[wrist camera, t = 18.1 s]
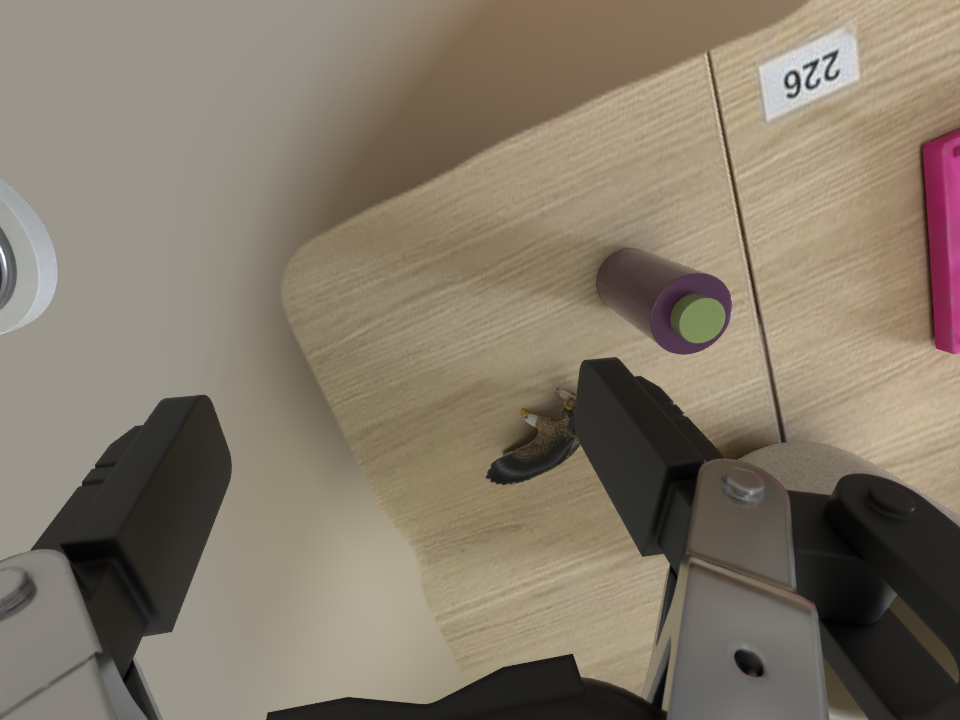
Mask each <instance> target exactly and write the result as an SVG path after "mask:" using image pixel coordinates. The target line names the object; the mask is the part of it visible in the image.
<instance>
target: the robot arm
mask: <svg viewBox="0 0 960 720" xmlns="http://www.w3.org/2000/svg"><path fill="white" fill-rule="evenodd" d="M16 280H17V267H16V260H15V257H14V253H13V250H12V247H11V245H10V243H9V241H8V239H7V237H6V235H5V233H4V232H3V230H2V229H1V227H0V310H1V309H2V308H3V307H4V306H5V305H6V304H7V303H8V301H9V300H10V298H11V296H12V294H13V292H14V289H15V286H16ZM574 425H575V431H576V435H577V438H578V440H579V443H580V444H581V446H582V448H583V450H584V452H585V453H586V455H587V457H588V459H589V461H590V462H591V464H592V466H593V468H594V470H595V472H596V473H597V475H598V477H599V479H600V481H601V482H602V484H603V486H604V488H605V490H606V491H607V493H608V495H609V497H610V499H611V501H612V502H613V504H614V506H615V508H616V510H617V511H618V513H619V515H620V517H621V519H622V521H623V522H624V524H625V526H626V528H627V530H628V531H629V533H630V535H631V537H632V539H633V540H634V542H635V544H636V546H637V548H638V550H639V551H640V553H641V555H642V557H645V556H651V555H657V554H663V553H664V555H665V556H666V558H667V560H668V561H669V563H670V565H669V568H668V571H667V574H666V580H665V585H664V590H663V596H662V601H661V606H660V612H659V617H658V622H657V627H656V633H655V638H654V643H653V649H652V654H651V659H650V663H649V668H648V672H647V676H646V679H645V683H644V687H643V691H642V696H641V697H640V696H638V695H636V694H634V693H632V692H630V691H628V690H626V689H624V688H621V687H618V686H616V685H613V684H610V683H608V682H604V681H600V680H595V679H591V678H584V677H580V674H579V671H578V668H577V665H576V662H575V659H574V656H573V654H569V655H564V656H559V657H554V658H548V659H543V660H538V661H533V662H528V663H522V664H517V665H512V666H507V667H503V668H501V669H499V670H497V671H495V672H493V673H491V674H489V675H487V676H485V677H483V678H481V679H479V680H477V681H475V682H473V683H471V684H469V685H468V686H466V687H464V688H462V689H460V690H458V691H456V692H454V693H452V694H450V695H448V696H446V697H444V698H442V699H440V700H438V701H436V702H433V703H430V704H414V703H404V702H394V701H383V700H373V699H363V698H352V697H346V698H341V699H336V700H331V701H325V702H321V703H315V704H310V705H305V706H300V707H294V708H289V709H284V710H279V711H274V712H268V713H267V719H266V720H829V711H828V702H827V693H826V684H825V675H824V666H823V657H822V655H823V656H824V658H825V659H826V661H827V662H828V663H829V665H830V666H831V668H832V669H833V670H834V672H835V673H836V675H837V676H838V677H839V679H840V680H841V682H842V683H843V684H844V686H845V687H846V689H847V690H848V691H849V693H850V694H851V696H852V697H853V698H854V700H855V701H856V703H857V704H858V705H859V707H860V708H861V710H862V711H863V712H864V714H865V715H866V717H867V718H868V719H869V720H960V527H959V526H958V525H957V524H956V523H954V522H953V521H952V520H951V519H949V518H948V517H947V516H946V515H945V514H943V513H942V512H941V511H940V510H938V509H937V508H936V507H935V506H933V505H932V504H931V503H930V502H929V501H927V500H926V499H925V498H923V497H922V496H921V495H919V494H918V493H916V492H914V491H913V490H911V489H909V488H907V487H905V486H904V485H901V484H899V483H897V482H895V481H892V480H889V479H886V478H883V477H880V476H876V475H871V474H862V473H854V474H848V475H845V476H843V477H842V478H840V479H839V481H838V483H837V485H836V486H835V488H834V490H833V492H832V494H831V495H827V494H818V493H810V492H801V491H793V490H786V489H785V488H784V487H783V485H782V484H781V483H780V482H779V481H778V480H777V479H776V478H775V477H773V476H772V475H771V474H769V473H768V472H766V471H765V470H763V469H761V468H759V467H757V466H755V465H752V464H750V463H747V462H744V461H740V460H735V459H726V458H725V457H724V456H723V455H722V454H721V453H720V452H719V451H718V450H717V449H716V448H715V447H714V445H713V444H712V443H711V442H710V441H709V440H708V439H707V438H706V437H705V436H704V435H703V433H702V432H701V431H700V430H699V429H698V428H697V427H696V426H695V425H694V424H693V423H692V421H691V420H690V419H689V418H688V417H685V416H684V413H683V412H682V411H681V410H680V408H679V407H678V406H677V405H674V404H673V401H672V400H671V399H670V398H669V396H668V395H667V394H666V393H665V392H664V391H663V390H662V389H661V388H660V387H659V386H657V385H655V384H653V383H652V382H650V381H648V380H646V379H645V378H643V377H641V376H636V377H634V376H633V375H632V373H631V372H630V371H629V370H628V369H627V368H626V366H625V365H624V364H623V363H622V362H621V361H620V360H619V359H618V358H616V357H612V358H601V359H591V360H584V361H583V362H582V364H581V366H580V371H579V379H578V388H577V396H576V404H575V412H574ZM231 471H232V464H231V456H230V452H229V449H228V446H227V443H226V440H225V437H224V435H223V432H222V429H221V426H220V423H219V420H218V417H217V415H216V412H215V409H214V406H213V403H212V402H211V400H210V398H209V397H208V396H206V395H196V396H186V397H175V398H165V399H163V400H161V401H160V402H159V403H158V405H157V406H156V408H155V409H154V411H153V412H152V414H151V415H150V416H149V418H148V419H147V421H146V422H145V423H144V425H141V426H135V427H133V428H132V429H131V430H130V431H128V432H127V433H125V434H124V435H123V436H121V437H120V438H119V439H117V440H116V441H115V442H113V443H112V444H111V445H110V446H109V447H108V448H107V450H106V451H105V453H104V454H103V455H102V456H101V458H100V459H99V460H98V462H97V463H96V464H95V469H92V470H91V471H90V472H89V474H88V475H87V476H86V478H85V479H84V480H83V481H82V486H80V487H78V488H77V489H76V491H75V492H74V493H73V495H72V496H71V497H70V499H69V500H68V501H67V503H66V504H65V505H64V507H63V508H62V509H61V511H60V512H59V513H58V515H57V516H56V517H55V518H54V520H53V521H52V522H51V524H50V525H49V526H48V528H47V529H46V530H45V532H44V533H43V534H42V536H41V537H40V538H39V539H38V541H37V542H36V544H35V545H34V546H33V547H32V549H31V550H30V551H27V552H24V553H20V554H17V555H14V556H11V557H8V558H6V559H4V560H1V561H0V720H163V719H162V717H161V714H160V712H159V709H158V707H157V705H156V702H155V700H154V698H153V696H152V693H151V691H150V689H149V687H148V684H147V682H146V679H145V677H144V675H143V673H142V670H141V668H140V666H139V664H138V662H137V660H136V659H135V658H134V655H135V653H136V650H137V648H138V646H139V644H140V641H141V639H142V637H143V636H150V635H156V634H162V633H168V632H172V630H173V628H174V625H175V623H176V620H177V617H178V614H179V612H180V610H181V607H182V604H183V602H184V599H185V596H186V594H187V591H188V589H189V586H190V584H191V581H192V579H193V576H194V573H195V571H196V568H197V565H198V563H199V560H200V558H201V555H202V553H203V550H204V547H205V545H206V542H207V540H208V537H209V534H210V532H211V529H212V527H213V524H214V522H215V519H216V516H217V514H218V511H219V509H220V506H221V503H222V501H223V498H224V495H225V493H226V490H227V488H228V485H229V482H230V478H231ZM897 595H898V596H899V597H900V598H901V599H902V600H903V601H904V602H905V603H906V604H907V605H908V606H909V607H910V608H911V609H912V610H913V611H914V613H915V614H916V615H917V616H918V617H919V618H920V619H921V620H922V621H923V622H924V623H925V624H926V625H927V626H928V627H929V628H930V629H931V631H932V632H933V633H934V634H935V635H936V636H937V637H938V638H939V639H940V640H941V641H942V642H943V643H944V645H945V646H946V647H947V648H948V650H949V651H950V652H951V654H952V656H953V657H954V659H955V662H956V664H957V667H958V671H959V681H958V684H957V683H956V682H955V681H954V679H953V678H952V677H951V676H950V675H949V674H948V673H947V672H946V671H945V669H944V668H943V667H942V666H941V665H940V664H939V663H938V662H937V661H936V659H935V658H934V657H933V656H932V655H931V654H930V653H929V652H928V651H927V650H926V648H925V647H924V646H923V645H922V644H921V643H920V642H919V641H918V640H917V638H916V637H915V636H914V635H913V634H912V633H911V632H910V631H909V630H908V629H907V627H906V626H905V625H904V624H903V623H902V622H901V621H900V620H899V619H898V617H897V616H896V615H895V614H894V613H893V612H892V611H891V610H890V609H889V605H890V604H891V603H892V601H893V600H894V599H895V597H896V596H897Z"/></svg>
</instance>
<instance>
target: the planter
mask: <svg viewBox="0 0 960 720" xmlns="http://www.w3.org/2000/svg"><path fill="white" fill-rule="evenodd" d="M738 460H740V461H744V462H747V463H750V464H752V465H755V466H757V467H759V468H761V469H763V470H765V471H766V472H768V473H769V474H771V475H772V476H773V477H775V478H776V479H777V480H778V481H779V482H780V483H781V484H782V485H783V487H784V488H785V489H786V490H793V491H801V492H810V493H818V494H827V495H831V494H832V492H833V490H834V488H835V486H836V485H837V483H838V481H839V479H840V478H842V477H843V476H845V475H848V474H854V473H862V474H871V475H876V476H880V477H883V478H886V479H889V480H892V481H895V482H897V483H899V484H901V485H904V486H905V487H907V488H909V489H911V490H913V491H914V492H916V493H918V494H919V495H921V496H922V497H923V498H925V499H926V500H927V501H929V502H930V503H931V504H932V505H933V506H935V507H936V508H937V509H938V510H940V511H941V512H942V513H943V514H945V515H946V516H947V517H948V518H949V519H951V520H952V521H953V522H954V523H956V524H957V525H958V526H959V527H960V515H958V514H956V513H955V512H953V511H952V510H950V509H948V508H947V507H945V506H943V505H942V504H940V503H938V502H937V501H935V500H934V499H932V498H930V497H929V496H927V495H926V494H924V493H922V492H921V491H919V490H918V489H916V488H914V487H913V486H911V485H909V484H908V483H906V482H904V481H903V480H901V479H899V478H898V477H896V476H894V475H893V474H891V473H889V472H887V471H886V470H884V469H882V468H880V467H879V466H877V465H875V464H873V463H872V462H870V461H867V460H865V459H863V458H861V457H859V456H857V455H855V454H853V453H851V452H848V451H846V450H843V449H841V448H838V447H835V446H831V445H827V444H823V443H816V442H807V441H793V442H784V443H778V444H773V445H769V446H766V447H763V448H760V449H757V450H755V451H753V452H750V453H748V454H746V455H745V456H743V457H741V458H739V459H738ZM889 609H890V610H891V611H892V612H893V613H894V614H895V615H896V616H897V617H898V619H899V620H900V621H901V622H902V623H903V624H904V625H905V626H906V627H907V629H908V630H909V631H910V632H911V633H912V634H913V635H914V636H915V637H916V638H917V640H918V641H919V642H920V643H921V644H922V645H923V646H924V647H925V648H926V650H927V651H928V652H929V653H930V654H931V655H932V656H933V657H934V658H935V659H936V661H937V662H938V663H939V664H940V665H941V666H942V667H943V668H944V669H945V671H946V672H947V673H948V674H949V675H950V676H951V677H952V678H953V679H954V681H955V682H956V683H957V684H958V681H959V671H958V667H957V664H956V662H955V659H954V657H953V656H952V654H951V652H950V651H949V650H948V648H947V647H946V646H945V645H944V643H943V642H942V641H941V640H940V639H939V638H938V637H937V636H936V635H935V634H934V633H933V632H932V631H931V629H930V628H929V627H928V626H927V625H926V624H925V623H924V622H923V621H922V620H921V619H920V618H919V617H918V616H917V615H916V614H915V613H914V611H913V610H912V609H911V608H910V607H909V606H908V605H907V604H906V603H905V602H904V601H903V600H902V599H901V598H900V597H899V596H898V595H897V596H896V597H895V599H894V600H893V601H892V603H891V604H890V605H889ZM822 657H823V666H824V675H825V684H826V693H827V702H828V711H829V720H869V719H868V718H867V717H866V715H865V714H864V712H863V711H862V710H861V708H860V707H859V705H858V704H857V703H856V701H855V700H854V698H853V697H852V696H851V694H850V693H849V691H848V690H847V689H846V687H845V686H844V684H843V683H842V682H841V680H840V679H839V677H838V676H837V675H836V673H835V672H834V670H833V669H832V668H831V666H830V665H829V663H828V662H827V661H826V659H825V658H824V656H823V655H822Z"/></svg>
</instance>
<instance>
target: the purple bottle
mask: <svg viewBox="0 0 960 720" xmlns="http://www.w3.org/2000/svg"><path fill="white" fill-rule="evenodd" d="M596 284H597V291H598V294H599V296H600V298H601V300H602V301H603V302H604V303H605V304H606V305H607V306H609V307H610V308H611V309H612V310H614V311H615V312H616V313H618V314H619V315H620V316H622V317H623V318H624V319H626V320H627V321H628V322H630V323H631V324H632V325H633V326H635V327H636V328H637V329H639V330H640V331H641V332H643V333H644V334H645V335H647V336H648V337H649V338H650V339H652V340H653V341H654V342H656V343H657V344H658V345H660V346H661V347H662V348H664V349H665V350H667V351H669V352H672V353H675V354H692V353H696V352H699V351H702V350H704V349H706V348H707V347H709V346H710V345H712V344H713V343H714V342H716V341H717V340H718V339H719V338H720V337H721V335H722V334H723V333H724V331H725V329H726V328H727V326H728V324H729V321H730V318H731V314H732V299H731V295H730V292H729V290H728V289H727V287H726V286H725V284H724V283H723V282H722V281H721V280H719V279H718V278H716V277H714V276H712V275H709V274H707V273H704V272H701V271H698V270H696V269H693V268H690V267H687V266H684V265H682V264H679V263H676V262H673V261H670V260H668V259H665V258H662V257H659V256H656V255H654V254H651V253H648V252H645V251H643V250H639V249H635V248H628V249H623V250H620V251H617V252H615V253H614V254H612V255H611V256H609V257H608V258H607V259H606V260H605V262H604V263H603V264H602V266H601V268H600V270H599V272H598V275H597V282H596Z"/></svg>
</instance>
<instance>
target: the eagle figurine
mask: <svg viewBox="0 0 960 720" xmlns="http://www.w3.org/2000/svg"><path fill="white" fill-rule="evenodd" d="M556 393H557V394H558V395H559V396H561V398H563V401H564V405H565V408H564V410H563V414H562V416H561V418H560V419H559V420H555V419H552V418H549V417H546V416H538V415H534V414H531V413H528V412H526V411H525V410H524V409H522V410H521V412H522V415H523V417H524V420H525V421H526V422H527V423H528V424H530V425H531V426H533V427H535V428H536V429H538V434H537V436H536V437H535V439H534V440H533V441H532V442H530V443H529V444H527V445H525V446H522V447H520V448H518V449H516V450H515V451H510V452H507V453H504V454H503V457H501V458H499V459H497V460H496V461H494V462H493V463H492V464H491V468H490V469H489V470H488V472H487V473H488V475H487V476H486V478H487V479H491V481H490V482H491V483H496V484H502V485H506V484H513V483H519V482H524V481H525V480H530V479H531V478H534V477H536V476H538V475H540V474H542V473H544V472H547V471H549V470H551V469H553V468H554V467H556V466H558V465H560V464H561V463H562V462H564V461H565V460H566V459H568V457H570V456H571V455H572V454H573V453H574V452H575V451H576V450H577V448H578V447H579V445H580V443H579V440H578V438H577V435H576V431H575V426H574V412H575V404H576V393H575V392H573V393H572V394H570V393H568V392H566V391H565V390H563V389H561V388H557V389H556Z"/></svg>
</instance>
